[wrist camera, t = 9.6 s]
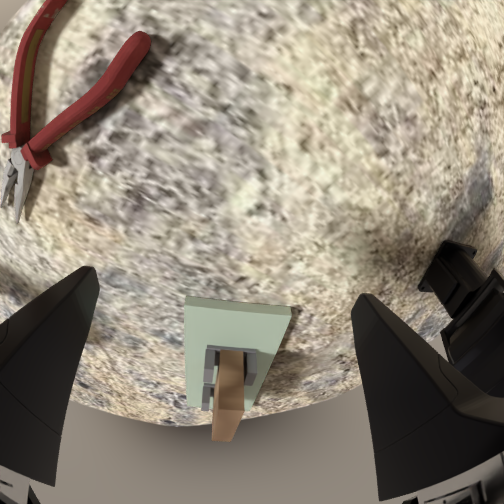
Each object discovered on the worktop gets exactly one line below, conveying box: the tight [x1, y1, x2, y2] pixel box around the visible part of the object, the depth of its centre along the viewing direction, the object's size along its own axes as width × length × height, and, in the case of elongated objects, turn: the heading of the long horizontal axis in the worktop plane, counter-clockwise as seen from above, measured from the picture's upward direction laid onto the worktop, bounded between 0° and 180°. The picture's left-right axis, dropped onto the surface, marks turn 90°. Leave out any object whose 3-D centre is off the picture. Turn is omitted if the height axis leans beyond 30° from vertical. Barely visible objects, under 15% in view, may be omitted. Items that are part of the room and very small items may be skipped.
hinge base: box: [184, 296, 292, 411], centre depth 31 cm, size 10×24×4 cm, turn 170°
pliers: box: [0, 0, 151, 223], centre depth 14 cm, size 12×20×3 cm, turn 138°
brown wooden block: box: [212, 349, 245, 442], centre depth 28 cm, size 2×12×7 cm, turn 170°
